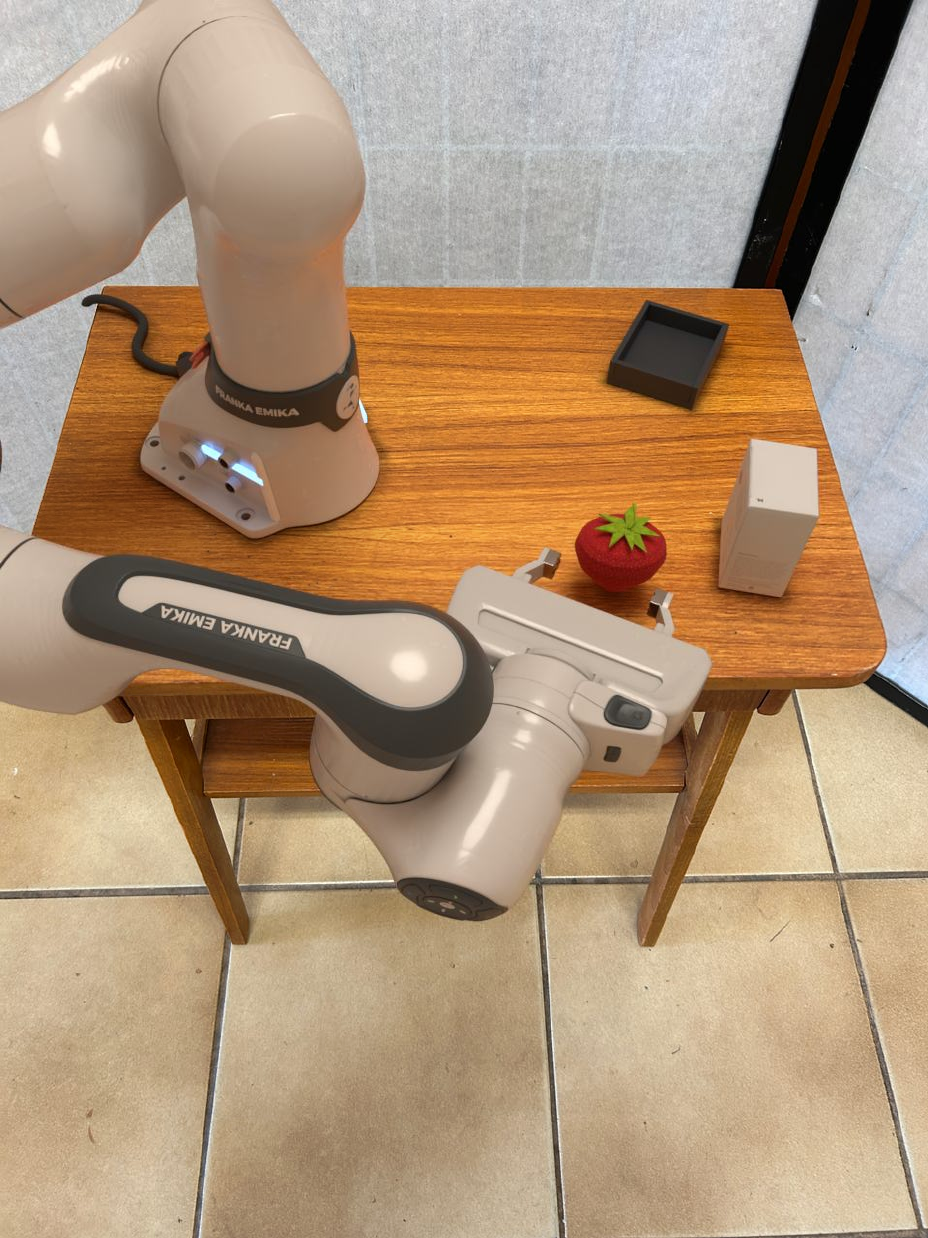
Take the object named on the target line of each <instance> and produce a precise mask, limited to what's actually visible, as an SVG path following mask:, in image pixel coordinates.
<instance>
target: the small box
mask: <svg viewBox="0 0 928 1238" xmlns="http://www.w3.org/2000/svg"><path fill="white" fill-rule="evenodd" d="M819 493H820V491H819V465H818V449H817V448H814V447H809V446H803V445H796V444H789V443H783V442H777V441H771V440H764V439H762V440H761V439H758V438H751V439H749V441H748V444H747V447H746V450H745V452H744V456H743V459H742V461H741V464H740V467H739V470H738V474H737V476H736V479H735V482H734V484H733V487H732V490H731V492H730V496H729V499H728V502H727V505H726V507H725V510H724V513H723V516H722V520H721V521H720V522H721V523H720V545H719V562H718V563H719V565H718V568H719V569H718V583H717V587H718V588H720V589H727V590H732V591H739V592H746V593H752V594H757V595H764V596H771V597H776V598H777V597H778V598H782V597H783V595H784V593H785V592H786V589H787V587H788V585H789V582H790V580H791V579H792V576H793V574H794V572H795V570H796V568H797V566H798V563H799V561H800V559H801V557H802V555H803V553H804V551H805V548H806V546H807V544H808V542H809V540H810V538H811V535H812V533H813V532H814V529H815V527H816V525H817V523H818V521H819V519H820V496H819Z"/></svg>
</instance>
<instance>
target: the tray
mask: <svg viewBox="0 0 928 1238" xmlns="http://www.w3.org/2000/svg"><path fill="white" fill-rule="evenodd" d="M639 309H640V310H639V311H638V313H637V314H636V316H635V318H634V320H633V321H632V323H631V324H630V327H629V328H628V330H627V331H626V333H625V334H624V337H623V339H621V341H620V343H619V345H618V347H617V348H616V350H615V352H614V354H613V355H612V357H611V359H610V360H609V365H608V371H607V376H606V384H610V385H613V386H615V387H618V388H622V389H625V390H629V391H632V392H635V393H638V394H641V395H645V396H646V397H650V398H654V399H657V400H660V401H663V402H666V403H668V404H673V405H676V406H678V407H682V408H685V409H688V410H690V411H691V410H693V409H694V407H695V405H696V403H697V401H698V398H699V396H700V394H701V393H702V390H703V388H704V387H705V384H706V382H707V380H708V378H709V375H710V374H711V372H712V370H713V367H714V366H715V363H716V362H717V359H718V357H719V355H720V353H721V351H722V349H723V347H724V344H725V341H726V337H727V335H728V334H727V333H728V331H729V327H730V324H729V323H728V322H724V321H720V320H717V319H713V318H710V317H707V316H703V315H699V314H696V313H693V312H689V311H686V310H683V309H680V308H676V307H672V306H671V305H670V306H669V305H666V304H662V303H659V302H656V301H652V300H649V299H645V301H644V302H643V304H642V306H641V307H640V308H639Z"/></svg>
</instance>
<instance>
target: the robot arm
mask: <svg viewBox="0 0 928 1238" xmlns="http://www.w3.org/2000/svg"><path fill="white" fill-rule="evenodd" d="M366 179H367V178H366V169H365V165H364V160H363V156H362V151H361V147H360V144H359V140H358V137H357V134H356V131H355V127H354V124H353V121H352V118H351V116H350V113H349V110H348V109H347V106H346V104H345V102H344V101H343V99H342V98H341V96H340V95H339V93H338V92H337V90H336V89H335V87H334V86H333V84H332V83H331V82H330V81H329V79H328V78H327V76H326V74H325V73H324V71H322V69H321V67H320V66H319V64H318V63H317V62H316V60H315V58H314V57H313V56H312V54H311V53H310V51H309V50H308V49H307V47H306V46H305V45H304V44H303V42H301V41H300V39H299V37H298V36H297V34H296V33H295V32H294V30H293V29H292V27H291V26H290V24H289V23H288V22H287V20H286V18H285V17H284V16H283V15H282V13H281V11H280V10H279V9H278V7H277V6H276V4H274V2H273V1H272V0H142V1H141V2H140V5H139V6H138V7H137V9H136V11H135V12H134V13H133V14H132V15H131V16H130V17H129V18H128V19H127V20H126V21H124V22H123V23H122V24H121V25H120V26H118V27H117V28H116V29H114V30H113V31H112V32H111V33H110V34H108V35H107V36H106V37H105V38H104V39H102V40H101V41H100V42H99V43H98V44H96V45H94V47H93V48H91V49H90V50H89V51H88V52H86V53H85V54H84V55H83V56H82V57H80V58H79V59H78V60H77V61H76V62H75V63H73V64H72V65H70V67H69V68H67V69H65V71H63V72H62V73H61V74H59V75H58V76H57V77H56V78H55V79H53V80H52V81H50V82H49V83H47V85H45V86H44V87H42V88H41V89H40V90H38V91H36V92H35V93H33V94H31V95H30V96H28V97H26V98H25V99H23V100H21V101H20V102H17V103H16V104H14V105H11V106H10V107H8V108H6V109H4V110H2V111H0V331H1V330H4V329H6V328H8V327H10V326H12V325H14V324H17V323H19V322H21V321H23V320H26V319H27V318H30V317H32V316H34V315H35V314H38V313H40V312H41V311H44V310H46V309H48V308H50V307H52V306H54V305H56V304H58V303H60V302H62V301H64V300H66V299H68V298H71V297H72V296H75V295H77V294H79V293H81V292H83V291H85V290H87V289H89V288H91V287H93V286H96V285H98V284H99V283H101V282H103V281H105V280H107V279H109V278H111V277H113V276H115V275H118V274H120V273H121V272H123V271H125V270H126V269H127V268H128V267H129V266H131V265H132V264H133V262H134V261H135V260H136V258H137V257H139V254H140V252H141V251H142V248H143V245H144V243H145V241H146V239H147V238H148V237H149V235H150V233H151V232H152V231H153V229H154V228H155V227H156V225H157V224H159V222H161V220H162V219H163V218H164V217H165V216H166V215H167V214H168V213H169V212H170V211H171V210H172V209H174V208H175V207H176V206H177V205H178V204H179V203H180V202H182V201H183V200H184V199H185V198H186V200H187V203H188V208H189V213H190V219H191V226H192V230H193V238H194V245H195V254H196V265H195V274H196V279H197V283H198V289H199V292H200V296H201V300H202V305H203V309H204V313H205V317H206V322H207V326H208V330H209V331H208V332H207V334H205V336H204V337H203V338H204V342H203V343H202V344H201V345H200V346H199V347H198V348H197V349H196V350H195V351H188V350H187V351H186V350H184V351H182V352H181V353H179V354H178V358H177V360H176V361H174V363H175V365H169V364H165V363H162V362H159V361H156V360H154V359H152V358H151V357H149V356H148V355H147V354H146V353H145V352H144V351H143V349H142V348H143V347H142V346H143V343H144V340H145V338H146V336H147V333H148V331H149V321H148V317H147V316H146V315H145V314H144V312H143V311H142V310H140V309H139V308H137V306H135V305H133V304H132V303H129V302H128V301H126V300H123V299H122V298H118V297H117V296H113V295H108V294H103V293H93V294H89V295H87V296H85V297H84V298H82V300H81V304H80V305H81V306H82V307H85V308H89V307H91V306H93V305H106V306H111V307H114V308H116V309H118V310H121V311H124V312H126V313H127V314H129V315H130V316H132V317H133V318H134V319H135V320H136V321H137V322H138V325H137V330H136V332H135V334H134V336H133V338H132V341H131V345H130V346H131V352H132V355H133V357H134V359H136V360H137V361H138V362H139V363H140V364H142V365H143V366H144V367H145V368H148V369H150V370H152V371H154V372H157V373H159V374H163V375H168V376H173V377H179V379H178V380H177V381H176V382H175V384H173V386H172V387H171V388H170V390H169V391H168V393H167V394H166V396H165V397H164V399H163V401H162V403H161V405H160V408H159V412H158V419H157V422H156V423H155V424H154V425H153V427H152V428H151V429H150V431H149V432H148V434H147V436H146V438H145V440H144V442H143V445H142V447H141V450H140V457H139V459H140V460H139V461H140V466H141V470H142V471H143V472H145V473H146V474H147V475H149V476H150V477H152V478H154V480H156V481H158V482H160V483H161V484H163V485H165V486H166V487H168V488H169V489H170V490H171V491H172V490H173V491H174V492H175V493H177V494H179V495H180V496H182V497H184V498H185V499H187V501H189V502H192V503H193V504H194V505H196V506H197V507H199V508H201V509H202V510H204V511H206V512H207V513H209V514H211V515H212V516H214V517H215V518H217V519H218V520H220V521H221V522H223V523H225V524H226V525H228V526H230V527H231V528H233V529H234V530H236V531H237V532H239V533H241V534H242V535H243V536H245V537H247V538H248V539H249V538H250V539H261V538H264V537H268V536H271V535H272V534H275V533H278V532H280V531H282V530H284V529H288V528H295V527H303V526H312V525H317V524H321V523H325V522H329V521H331V520H334V519H338V518H339V517H342V516H343V515H346V514H348V513H349V512H350V511H352V510H354V509H355V508H357V506H359V505H360V504H361V503H363V502H364V501H365V499H366V498H368V496H369V495H370V494H371V492H372V491H373V489H374V487H375V486H376V483H377V482H378V478H379V474H380V466H381V464H380V463H381V462H380V457H379V453H378V451H377V448H376V446H375V444H374V442H373V440H372V438H371V435H370V433H369V430H368V428H367V425H366V423H368V415H367V412H366V411H365V407H364V406H363V403H362V401H361V399H360V395H361V392H360V390H361V388H360V387H361V386H360V383H361V382H360V381H361V380H360V370H359V369H360V368H359V360H358V359H359V358H358V353H357V345H356V339H355V336H354V334H353V332H352V330H351V329H350V322H349V321H350V320H349V311H348V299H347V298H348V297H347V287H346V275H345V273H346V272H345V253H346V252H345V251H346V245H347V244H346V243H347V237H348V233H349V232H350V231H351V229H352V228H353V227H354V225H355V223H356V221H357V220H358V218H359V215H360V212H361V210H362V208H363V205H364V202H365V196H366V195H365V194H366V187H367V180H366ZM1 440H2V439H0V473H1V471H2V464H3V446H2V441H1ZM562 556H563V555H562V553H561V552H558V551H557V550H555V549H552V548H549V547H545V546H544V547H543V548H542V550H541V552H540V554H539V556H538V558H537V559H534V560H532V561H531V562H528V563H526V564H523V565H522V566H520V567H518V568H516V569H515V570H514V572H513V574H512V576H511V575H508V574H506V573H503V572H500V571H498V570H495V569H492V568H489V567H487V566H484V565H482V564H477V565H473V566H471V567H469V568H466V569H465V570H464V571H463V572H462V574H461V576H460V577H459V579H458V581H457V583H456V584H455V585H456V586H455V587H454V589H453V592H452V594H451V597H450V600H449V601H448V606H447V608H446V611H443V610H441V609H439V608H437V607H435V606H432V605H429V604H426V603H422V602H417V601H411V600H399V599H377V600H375V599H373V600H372V599H371V600H359V599H357V600H356V599H355V600H354V599H341V598H334V597H328V596H323V595H319V594H314V593H311V592H305V591H301V590H297V589H294V588H289V587H285V586H281V585H277V584H273V583H269V582H265V581H261V580H257V579H252V578H249V577H245V576H241V575H235V574H232V573H228V572H223V571H221V570H217V569H216V570H215V569H212V568H208V567H203V566H199V565H196V564H191V563H186V562H182V561H177V560H171V559H168V558H161V557H156V556H150V555H144V554H143V555H142V554H133V553H132V554H131V553H130V554H129V553H123V554H121V553H119V554H111V555H103V554H98V553H94V552H87V551H83V550H79V549H76V548H72V547H69V546H66V545H62V544H59V543H57V542H53V541H51V540H47V539H44V538H41V537H38V536H35V535H33V534H29V533H26V532H23V531H20V530H18V529H14V528H11V527H9V526H6V525H2V524H0V702H1V703H4V704H7V705H10V706H11V705H12V706H14V707H17V708H22V709H27V710H31V711H37V712H43V713H51V714H58V715H59V714H60V715H67V716H69V715H70V716H76V715H80V714H83V713H87V712H90V711H93V710H95V709H97V708H99V707H102V706H103V705H105V704H107V703H109V702H110V701H112V700H113V699H115V698H116V697H118V696H119V695H120V694H121V693H123V692H124V691H125V690H126V689H127V688H128V687H129V686H130V685H131V684H132V683H133V682H134V681H135V679H137V677H139V676H141V675H143V674H146V673H149V672H153V671H160V670H176V671H177V670H178V671H184V672H185V671H186V672H190V673H194V674H198V675H202V676H206V677H209V678H214V679H217V680H221V681H225V682H228V683H233V684H236V685H239V686H240V685H241V686H244V687H247V688H251V689H256V690H261V691H264V692H268V693H272V694H275V695H279V696H283V697H287V698H290V699H294V700H296V701H298V702H301V703H303V704H304V705H306V706H307V707H309V708H310V709H311V710H313V711H314V712H315V713H316V714H315V718H314V721H313V727H312V732H311V737H310V742H309V748H308V764H309V769H310V773H311V775H312V778H313V781H314V783H315V784H316V787H317V788H318V790H319V791H320V793H321V794H322V795H323V797H325V798H326V800H327V801H329V802H330V804H332V805H333V806H334V807H336V808H337V809H338V810H340V811H342V812H343V813H345V815H347V816H348V817H349V818H350V820H352V821H353V822H354V823H355V824H356V825H357V826H358V827H359V828H360V829H361V831H362V832H363V833H364V834H365V835H366V836H367V838H368V839H369V840H370V841H371V842H372V844H373V845H374V846H375V848H376V849H377V851H378V853H380V855H381V857H382V858H383V860H384V862H385V863H386V865H387V867H388V869H389V871H390V873H391V877H392V879H393V883H394V885H395V887H396V889H397V890H398V892H399V894H401V895H402V896H403V897H404V898H406V899H407V900H408V901H410V902H412V903H413V904H415V905H416V906H417V907H418V908H420V909H422V910H424V911H427V912H430V913H432V914H434V915H437V916H440V917H443V918H447V919H451V920H454V921H462V922H464V921H465V922H467V921H468V922H473V923H474V922H475V923H477V922H478V923H479V922H486V921H488V920H492V919H495V918H497V917H499V916H501V915H504V914H505V913H507V912H509V911H510V910H511V909H512V908H513V907H514V906H515V905H516V904H517V903H518V902H519V901H520V899H521V898H522V896H523V895H524V893H525V892H526V890H527V889H528V887H529V885H530V884H531V882H532V881H533V879H534V877H535V875H536V874H537V872H538V870H539V868H540V866H541V864H542V863H543V860H544V858H545V856H546V854H547V852H548V850H549V848H550V845H551V843H552V841H553V839H554V837H555V835H556V833H557V830H558V828H559V826H560V824H561V821H562V817H563V809H564V802H565V798H566V796H567V794H568V791H569V790H570V789H571V787H572V786H573V785H574V784H575V783H576V782H577V781H578V779H579V778H580V776H581V775H582V773H583V771H585V772H586V771H587V772H598V773H599V772H600V773H609V774H615V775H617V774H618V775H623V776H624V775H625V776H634V777H642V776H645V775H646V774H647V773H649V772H650V770H651V769H652V768H653V766H654V764H655V762H656V761H657V759H658V757H659V756H660V753H661V751H662V748H663V746H664V745H666V744H668V743H669V742H671V741H672V740H673V739H674V738H675V737H676V736H677V735H678V734H679V733H680V731H681V730H682V728H683V727H684V725H685V723H686V722H687V720H688V718H689V717H690V715H691V713H692V711H693V710H694V708H695V706H696V704H697V701H698V700H699V698H700V696H701V693H702V691H703V689H704V688H705V685H706V682H707V680H708V679H709V675H710V673H711V670H712V668H713V662H712V660H711V659H712V658H711V656H710V655H709V652H708V651H707V650H706V649H705V648H702V647H700V646H697V645H694V644H691V643H689V642H687V641H684V640H680V639H679V638H676V637H673V636H674V632H675V630H676V627H675V624H674V621H673V617H672V614H671V611H670V607H671V604H672V602H673V598H674V595H675V593H672V592H670V591H667V590H664V589H661V588H658V587H656V588H655V589H654V591H653V595H652V596H651V599H650V601H649V604H648V608H647V610H646V613H645V616H648V617H649V618H651V619H655V624H656V625H655V627H654V629H652V628H650V627H646V626H644V625H641V624H638V623H636V622H633V621H630V620H628V619H626V618H622V617H619V616H617V615H614V614H612V613H609V612H607V611H604V610H601V609H599V608H596V607H594V606H590V605H588V604H585V603H583V602H580V601H578V600H574V599H572V598H570V597H567V596H565V595H561V594H558V593H556V592H554V591H550V590H548V589H545V588H543V587H540V586H538V585H535V584H534V583H535V582H537V581H539V580H540V579H542V578H545V579H549V580H551V581H552V580H553V579H554V577H555V576H556V572H557V571H558V569H559V568H560V564H561V558H562Z"/></svg>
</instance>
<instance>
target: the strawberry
mask: <svg viewBox="0 0 928 1238" xmlns="http://www.w3.org/2000/svg"><path fill="white" fill-rule="evenodd" d="M651 519H653V516H637V502H632V505H631V506H630V507H629V508H628V509H627V510H626V511H625V512H624V513H612V514H611V513H610V514H605V513H598V517H595V518H594V519H591V520H589V521H587V522H586V523H585V524H584V525H583V526H582V527H581V529H580V531H579V533H578V535H577V537H576V539H575V540H574V551H575V554H576V558H577V562H578V565H579V566H580V568H581V570H582V571H583V572H584V573H585V575H587V576H588V577H589V578H590V580H591V581H593V582H594V583H595V584H596V585H598V586H599V587H601V588H602V589H604V591H606V592H608V593H611V594H616V593H620V592H622V591H628V590H630V589H633V588H635V587H637V586H639V585H641V584H644V583H646V582H648V581H650V580H651V579H652V578H653V577H654V576H655V575H656V573H657V572H658V571H659V570H660V569H661V567H663V565H664V564H665V562H666V560H667V556H668V555H667V554H668V553H667V552H668V550H667V540H666V538H665V536H664V534H663V533H662V531H661V530H660V529H659V528H658V527H656V526H655V525H654V524H652V523H651V522H649V521H650V520H651Z"/></svg>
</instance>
